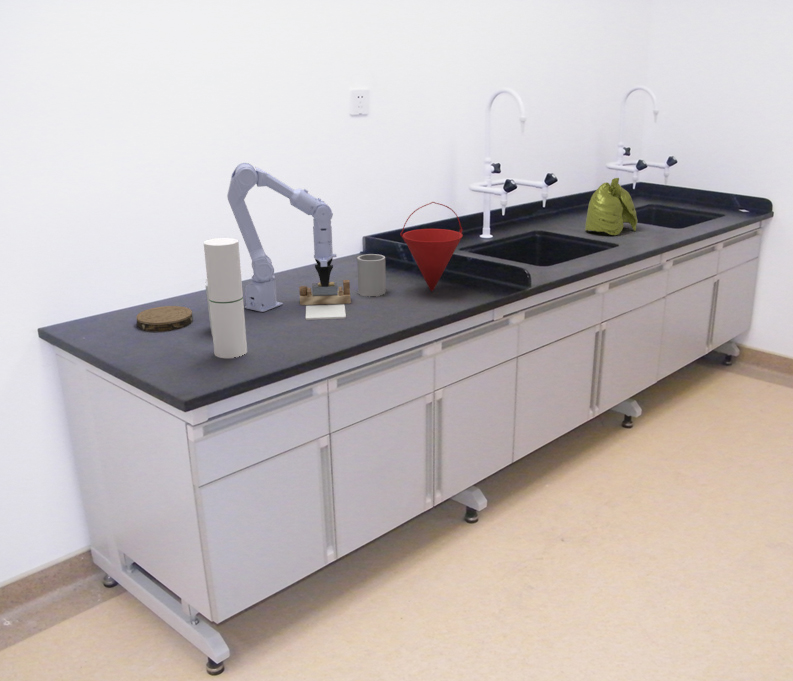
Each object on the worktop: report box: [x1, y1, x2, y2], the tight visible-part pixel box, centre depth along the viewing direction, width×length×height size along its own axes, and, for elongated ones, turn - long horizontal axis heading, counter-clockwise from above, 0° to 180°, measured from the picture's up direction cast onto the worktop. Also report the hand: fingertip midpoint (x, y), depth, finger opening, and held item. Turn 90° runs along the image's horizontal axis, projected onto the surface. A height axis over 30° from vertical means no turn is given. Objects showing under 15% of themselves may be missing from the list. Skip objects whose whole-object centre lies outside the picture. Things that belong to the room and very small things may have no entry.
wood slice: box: [136, 305, 194, 333], centre depth 224 cm, size 16×16×3 cm
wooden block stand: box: [298, 279, 352, 306], centre depth 242 cm, size 16×6×6 cm, turn 95°
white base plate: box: [305, 304, 347, 321], centre depth 232 cm, size 12×12×1 cm
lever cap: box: [311, 281, 339, 296], centre depth 242 cm, size 8×4×4 cm, turn 95°
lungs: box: [584, 177, 638, 236], centre depth 334 cm, size 25×16×24 cm, turn 128°
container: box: [203, 237, 248, 359], centre depth 196 cm, size 9×9×30 cm
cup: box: [356, 253, 387, 297], centre depth 250 cm, size 9×9×12 cm
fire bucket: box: [399, 201, 464, 292], centre depth 248 cm, size 22×20×30 cm
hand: (324, 283), depth 241 cm, fingers open, 7 cm apart
